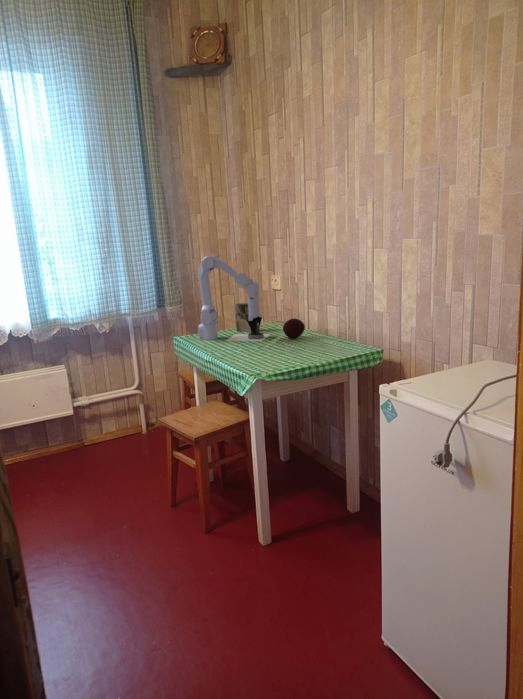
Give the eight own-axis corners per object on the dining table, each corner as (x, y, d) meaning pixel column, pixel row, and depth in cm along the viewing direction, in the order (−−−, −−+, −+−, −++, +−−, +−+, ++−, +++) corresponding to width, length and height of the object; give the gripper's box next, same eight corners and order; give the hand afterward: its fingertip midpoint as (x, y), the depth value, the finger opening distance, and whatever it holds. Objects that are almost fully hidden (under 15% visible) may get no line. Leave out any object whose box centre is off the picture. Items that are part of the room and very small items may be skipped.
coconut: (307, 335, 267) (306, 315, 265) (302, 341, 255) (301, 320, 252) (286, 335, 270) (285, 316, 268) (280, 341, 257) (279, 320, 255)
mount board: (224, 342, 263) (224, 336, 262) (235, 336, 278) (234, 330, 277) (262, 342, 257) (262, 336, 256) (270, 336, 272) (270, 330, 271)
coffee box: (255, 331, 288) (253, 302, 284) (252, 333, 282) (250, 304, 278) (240, 331, 290) (238, 303, 287) (236, 333, 284) (234, 304, 281)
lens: (250, 337, 263) (248, 324, 262) (252, 335, 268) (251, 322, 266) (258, 337, 262) (257, 323, 260) (261, 335, 266) (259, 322, 265)
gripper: (257, 308, 253) (258, 335, 256) (265, 303, 267) (266, 329, 270) (243, 308, 255) (245, 335, 258) (252, 304, 269) (253, 329, 272)
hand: (255, 332), depth 264 cm, fingers closed on lens, 4 cm apart
